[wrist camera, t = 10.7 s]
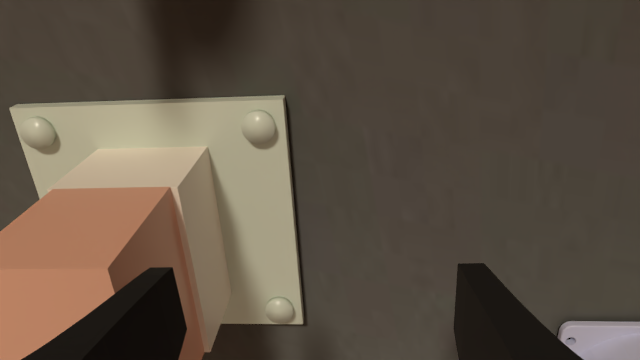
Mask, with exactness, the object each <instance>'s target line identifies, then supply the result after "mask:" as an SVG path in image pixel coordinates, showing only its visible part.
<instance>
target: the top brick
mask: <svg viewBox="0 0 640 360" xmlns="http://www.w3.org/2000/svg"><path fill="white" fill-rule="evenodd" d="M150 267H173V271H174V275H175V279H176V283H177V288H178V292H179V296H180V300H181V305H182V309H183V313H184V317H185V322H186V326H187V331H186V335H185V339H184V342H183V346H182V349H181V353H180V356H179V359H178V360H202V357H203V355H204V352H205V351H204V346H203V342H202V337H201V332H200V327H199V322H198V318H197V313H196V308H195V303H194V298H193V294H192V289H191V284H190V279H189V275H188V270H187V265H186V260H185V255H184V251H183V246H182V241H181V236H180V231H179V227H178V222H177V217H176V212H175V208H174V203H173V198H172V193H171V188H170V187H129V188H77V189H52V190H51V191H50V192H48V193H47V194H46V195H45V196H44V197H42V198H41V199H40V200H39V201H37V202H36V203H35V204H34V205H32V206H31V207H30V208H29V209H28V210H26V211H25V212H24V213H23V214H21V215H20V216H19V217H18V218H16V219H15V220H14V221H13V222H12V223H10V224H9V225H8V226H7V227H5V228H4V229H3V230H2V231H0V360H21V359H23V358H24V357H26V356H28V355H29V354H31V353H32V352H34V351H36V350H37V349H39V348H40V347H42V346H43V345H45V344H46V343H48V342H49V341H51V340H52V339H54V338H55V337H56V336H58V335H59V334H61V333H62V332H64V331H65V330H66V329H68V328H69V327H71V326H72V325H73V324H75V323H76V322H78V321H79V320H81V319H82V318H83V317H85V316H86V315H87V314H89V313H90V312H91V311H93V310H94V309H95V308H97V307H98V306H99V305H101V304H102V303H103V302H105V301H106V300H107V299H108V298H110V297H111V296H112V295H114V294H115V293H116V292H118V291H119V290H120V289H121V288H123V287H124V286H125V285H127V284H128V283H129V282H131V281H132V280H133V279H134V278H136V277H137V276H139V275H140V274H141V273H143V272H144V271H146V270H147V269H149V268H150Z"/></svg>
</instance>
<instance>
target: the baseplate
mask: <svg viewBox="0 0 640 360" xmlns="http://www.w3.org/2000/svg"><path fill="white" fill-rule="evenodd" d="M9 109H10V112H11V115H12V118H13V121H14V124H15V127H16V130H17V133H18V136H19V139H20V142H21V145H22V148H23V150H24V153H25V156H26V159H27V162H28V165H29V168H30V171H31V174H32V177H33V180H34V183H35V186H36V189H37V192H38V195H39V198H40V199H41V198H42V197H44V196H45V195H46V194H47V193H48V191H47V189H49V188H50V187H51V186H52V185H54V184H55V183H56V182H57V181H59V180H60V179H61V178H62V177H64V176H65V175H66V174H67V173H69V172H70V171H71V170H72V169H74V168H75V167H76V166H77V165H79V164H80V163H81V162H82V161H84V160H85V159H86V158H87V157H89V156H90V155H91V154H92V153H94V152H95V151H96V150H97V149H120V148H161V147H201V146H208V152H209V158H210V164H211V170H212V176H213V183H214V189H215V195H216V201H217V207H218V213H219V219H220V225H221V231H222V237H223V244H224V250H225V256H226V262H227V268H228V274H229V280H230V286H231V292H232V293H231V296H230V299H229V302H228V305H227V307H226V310H225V313H224V316H223V319H222V321H221V324H303V320H304V310H303V299H302V287H301V276H300V264H299V253H298V241H297V230H296V218H295V207H294V195H293V184H292V172H291V161H290V149H289V137H288V126H287V114H286V103H285V95H279V96H249V97H219V98H188V99H158V100H128V101H98V102H68V103H38V104H17V105H15V106H13V107H11V108H9Z"/></svg>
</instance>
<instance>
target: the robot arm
mask: <svg viewBox="0 0 640 360" xmlns="http://www.w3.org/2000/svg"><path fill="white" fill-rule="evenodd" d="M186 331H187V326H186V322H185V317H184V313H183V309H182V305H181V300H180V296H179V292H178V288H177V283H176V279H175V275H174V271H173V267H150V268H149V269H147V270H146V271H144V272H143V273H141V274H140V275H139V276H137V277H136V278H134V279H133V280H132V281H131V282H129V283H128V284H127V285H125V286H124V287H123V288H121V289H120V290H119V291H118V292H116V293H115V294H114V295H112V296H111V297H110V298H108V299H107V300H106V301H105V302H103V303H102V304H101V305H99V306H98V307H97V308H95V309H94V310H93V311H91V312H90V313H89V314H87V315H86V316H85V317H83V318H82V319H81V320H79V321H78V322H76V323H75V324H73V325H72V326H71V327H69V328H68V329H66V330H65V331H64V332H62V333H61V334H59V335H58V336H56V337H55V338H54V339H52V340H51V341H49V342H48V343H46V344H45V345H43V346H42V347H40V348H39V349H37V350H36V351H34V352H32V353H31V354H29V355H28V356H26V357H24V358H23V359H21V360H178V359H179V356H180V353H181V349H182V346H183V342H184V339H185V335H186ZM454 333H455V339H456V345H457V351H458V357H459V360H640V322H603V321H570V322H566V323H564V324H562V325H561V327H560V329H559V333H558V338H557V337H556V336H555V335H554V334H553V333H551V332H550V331H549V330H548V329H547V328H546V327H545V326H544V325H543V324H542V323H541V322H540V321H539V320H538V319H537V318H536V317H535V316H534V315H533V314H532V313H531V312H529V311H528V310H527V309H526V308H525V307H524V306H523V305H522V304H521V303H520V301H519V300H518V299H517V298H516V297H515V296H514V295H513V294H512V293H511V292H510V291H509V290H508V289H507V288H506V287H505V286H504V285H503V283H502V282H501V281H500V280H499V279H498V278H497V277H496V276H495V275H494V274H493V273H492V271H491V270H490V269H489V268H488V267H487V266H486V265H485V264H484V263H474V264H458V271H457V286H456V302H455V317H454ZM571 337H572V338H571ZM568 338H571V339H569V340H566V339H568Z"/></svg>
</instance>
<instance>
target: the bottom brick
mask: <svg viewBox="0 0 640 360" xmlns="http://www.w3.org/2000/svg"><path fill="white" fill-rule="evenodd" d="M129 187H170V188H171V193H172V198H173V203H174V208H175V212H176V217H177V222H178V227H179V231H180V236H181V241H182V246H183V251H184V255H185V260H186V265H187V270H188V275H189V279H190V284H191V289H192V294H193V298H194V303H195V308H196V313H197V318H198V322H199V327H200V332H201V337H202V342H203V346H204V351H205V352H211V349H212V346H213V344H214V341H215V338H216V335H217V332H218V330H219V327H220V324H221V321H222V319H223V316H224V313H225V310H226V307H227V305H228V302H229V299H230V296H231V293H232V292H231V286H230V280H229V274H228V268H227V262H226V256H225V250H224V244H223V237H222V231H221V225H220V219H219V213H218V207H217V201H216V195H215V189H214V183H213V176H212V170H211V164H210V158H209V152H208V146H201V147H161V148H120V149H97V150H96V151H95V152H94V153H92V154H91V155H90V156H89V157H87V158H86V159H85V160H84V161H82V162H81V163H80V164H79V165H77V166H76V167H75V168H74V169H72V170H71V171H70V172H69V173H67V174H66V175H65V176H64V177H62V178H61V179H60V180H59V181H57V182H56V183H55V184H54V185H52V186H51V187H50V188H49V189H47V191H48V192H50V191H51V190H52V189H77V188H129Z"/></svg>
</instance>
